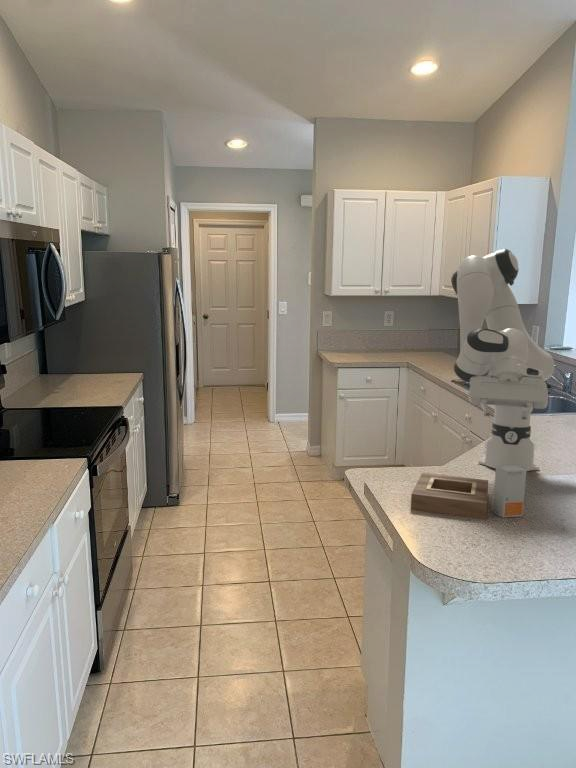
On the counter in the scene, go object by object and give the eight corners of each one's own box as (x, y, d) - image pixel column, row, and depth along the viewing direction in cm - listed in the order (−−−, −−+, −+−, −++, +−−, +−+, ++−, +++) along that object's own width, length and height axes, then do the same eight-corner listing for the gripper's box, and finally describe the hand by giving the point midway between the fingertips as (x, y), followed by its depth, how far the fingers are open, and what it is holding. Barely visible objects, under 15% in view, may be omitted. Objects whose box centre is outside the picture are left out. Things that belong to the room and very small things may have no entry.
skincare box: (502, 518, 140) (505, 470, 139) (491, 512, 144) (495, 466, 143) (523, 516, 142) (527, 469, 141) (512, 511, 146) (516, 465, 145)
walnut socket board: (421, 486, 166) (422, 471, 165) (487, 494, 160) (488, 479, 159) (410, 509, 145) (411, 492, 145) (485, 519, 139) (487, 502, 139)
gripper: (470, 367, 163) (464, 406, 155) (549, 371, 155) (547, 412, 147) (470, 381, 167) (465, 420, 159) (548, 386, 159) (546, 427, 151)
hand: (505, 416), depth 153 cm, fingers open, 8 cm apart
